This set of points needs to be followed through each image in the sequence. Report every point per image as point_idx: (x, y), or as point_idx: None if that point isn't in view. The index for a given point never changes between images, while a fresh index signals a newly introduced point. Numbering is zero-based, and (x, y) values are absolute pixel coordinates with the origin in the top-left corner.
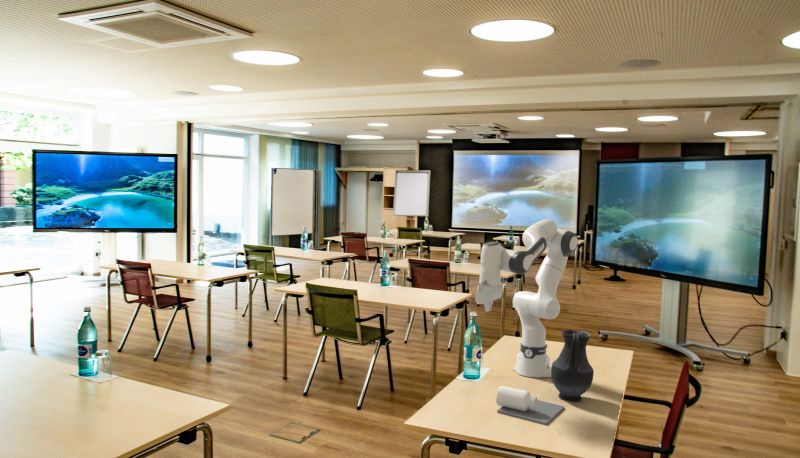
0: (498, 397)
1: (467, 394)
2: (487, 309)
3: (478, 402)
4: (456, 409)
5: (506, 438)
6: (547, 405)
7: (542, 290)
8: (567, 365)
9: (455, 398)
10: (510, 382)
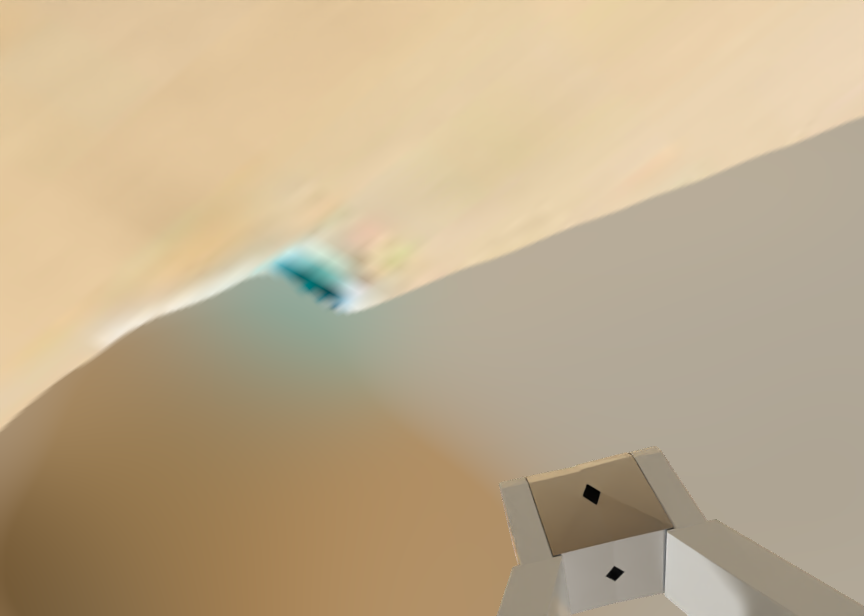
0: None
1: (538, 131)
2: (682, 500)
3: (604, 2)
4: (774, 14)
5: None
6: None
7: None
8: None
9: (633, 130)
10: (154, 107)
